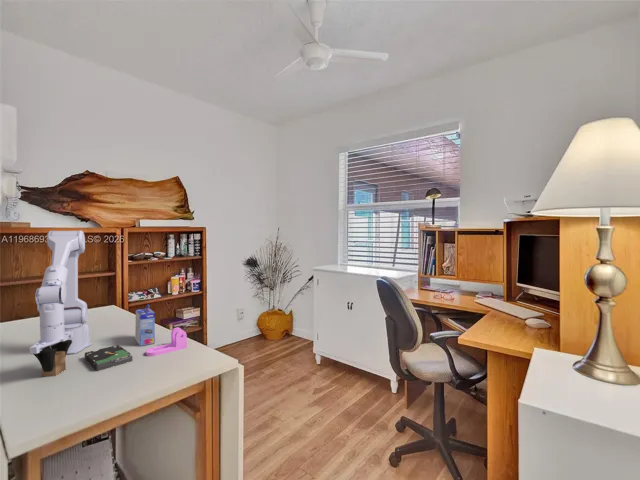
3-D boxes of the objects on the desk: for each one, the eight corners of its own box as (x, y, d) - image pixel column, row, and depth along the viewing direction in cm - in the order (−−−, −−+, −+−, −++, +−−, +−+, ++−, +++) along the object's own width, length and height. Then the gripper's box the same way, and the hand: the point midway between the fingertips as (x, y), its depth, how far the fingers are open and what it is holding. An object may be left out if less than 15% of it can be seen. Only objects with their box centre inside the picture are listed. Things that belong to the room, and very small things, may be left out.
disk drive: (83, 360, 107) (96, 372, 98) (83, 352, 107) (96, 364, 98) (118, 351, 115) (133, 362, 106) (118, 344, 115) (133, 353, 105)
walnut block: (52, 370, 99) (51, 351, 98) (65, 369, 99) (65, 351, 99) (41, 376, 95) (41, 356, 94) (55, 375, 95) (55, 356, 95)
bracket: (181, 344, 121) (181, 326, 121) (186, 348, 117) (186, 329, 117) (144, 353, 112) (143, 334, 112) (148, 358, 108) (147, 338, 108)
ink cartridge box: (156, 343, 122) (155, 306, 121) (139, 347, 118) (138, 308, 118) (150, 336, 129) (149, 302, 129) (135, 339, 126) (134, 304, 125)
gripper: (47, 331, 89) (48, 378, 90) (82, 317, 104) (83, 357, 104) (21, 332, 89) (22, 379, 89) (59, 317, 103) (61, 358, 104)
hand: (53, 367), depth 97 cm, fingers closed on walnut block, 4 cm apart
